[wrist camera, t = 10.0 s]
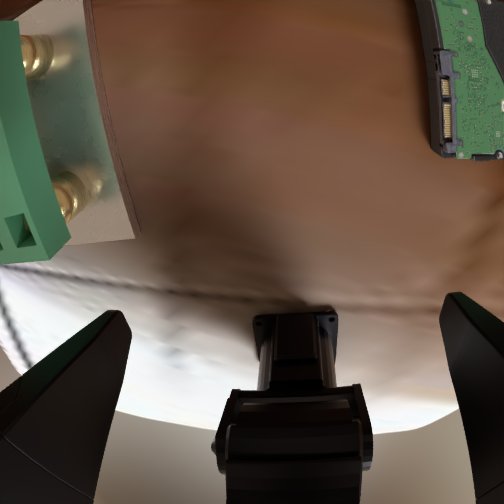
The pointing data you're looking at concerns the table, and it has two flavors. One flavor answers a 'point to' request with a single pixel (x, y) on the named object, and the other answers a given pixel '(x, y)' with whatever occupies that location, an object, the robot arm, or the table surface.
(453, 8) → the disk drive
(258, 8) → the table surface
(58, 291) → the table surface
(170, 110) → the table surface
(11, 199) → the board
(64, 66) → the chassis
